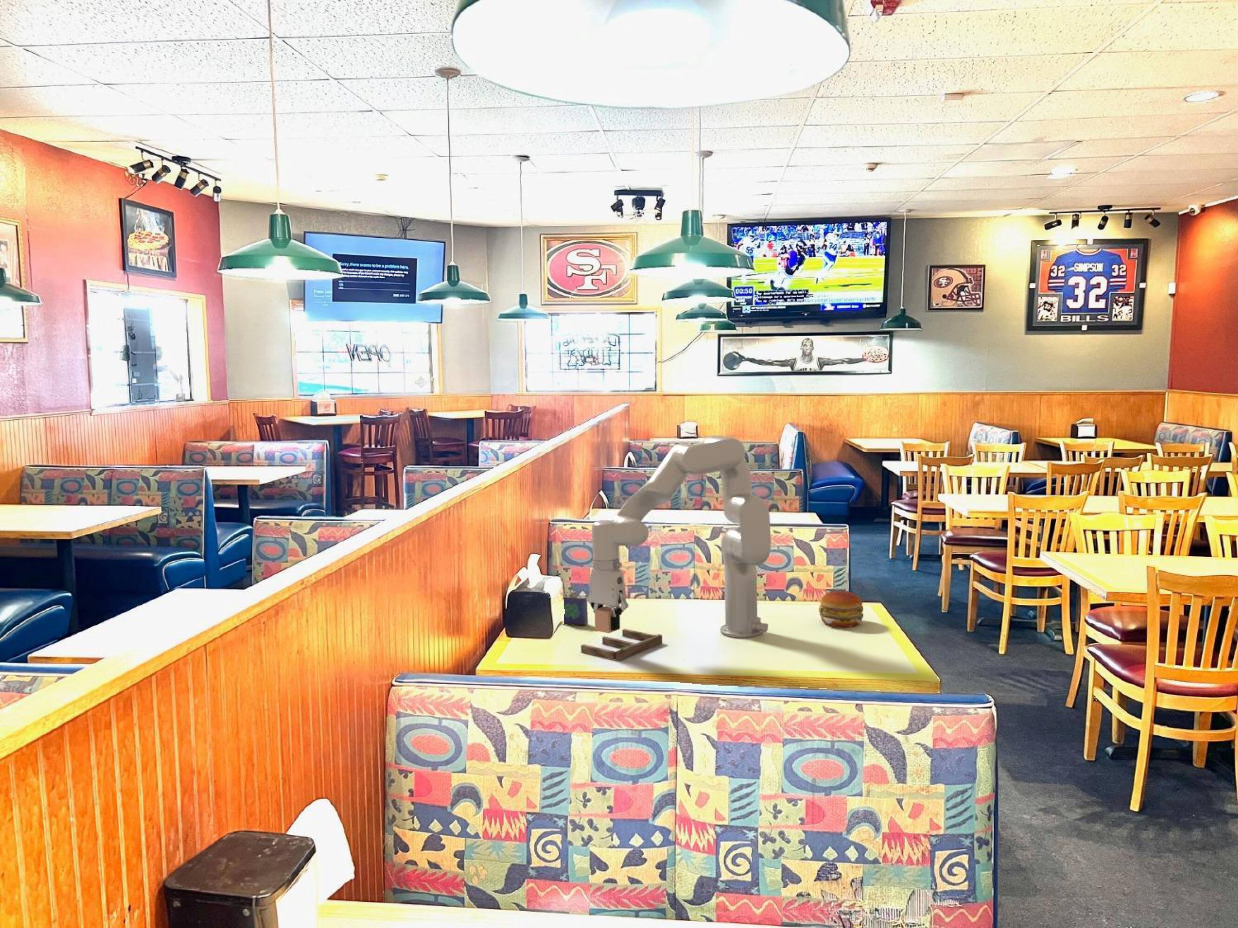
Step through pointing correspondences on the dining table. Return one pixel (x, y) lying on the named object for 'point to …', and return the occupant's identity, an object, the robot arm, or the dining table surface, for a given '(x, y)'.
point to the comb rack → (624, 645)
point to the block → (603, 619)
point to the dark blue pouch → (575, 610)
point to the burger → (841, 609)
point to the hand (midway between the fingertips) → (607, 627)
